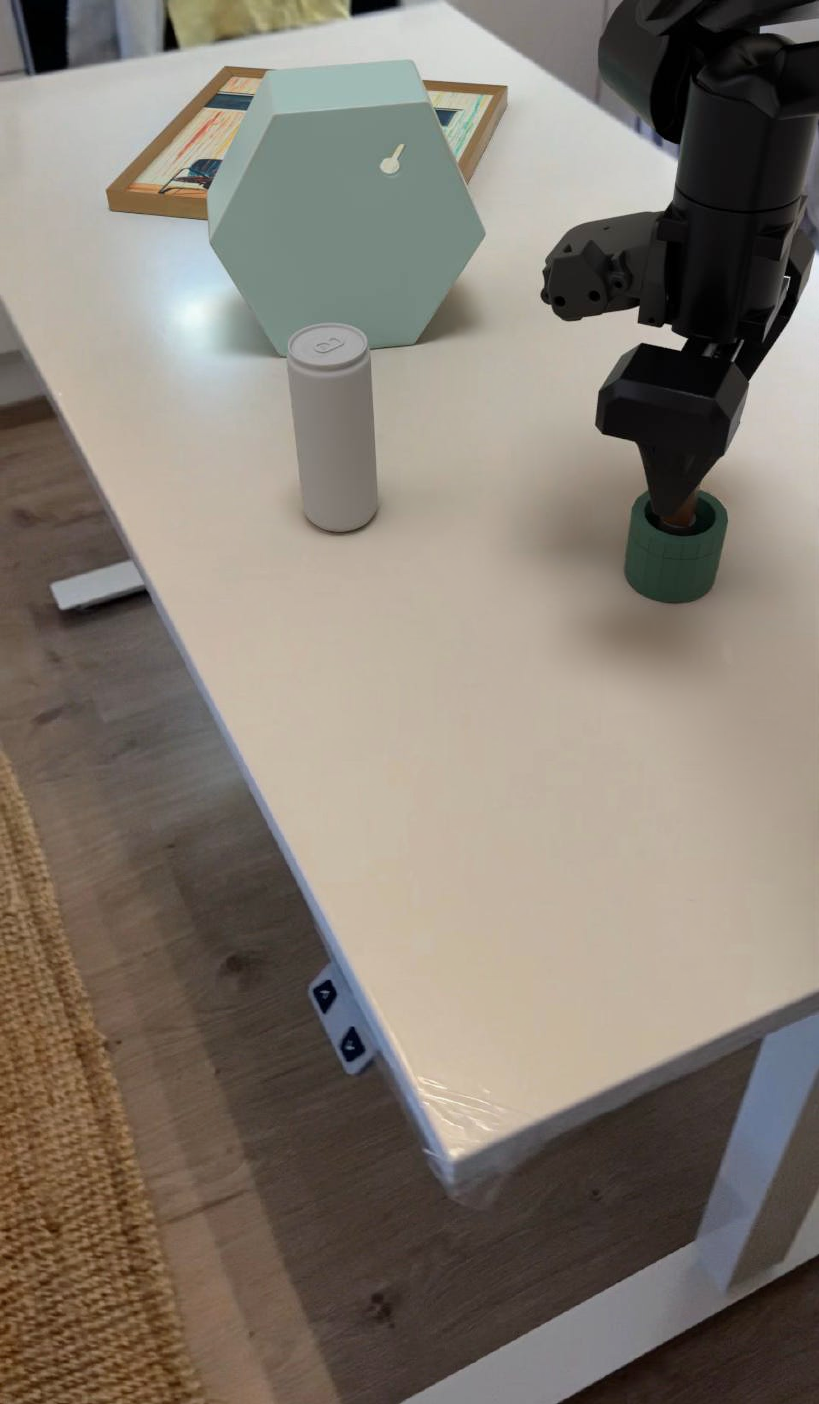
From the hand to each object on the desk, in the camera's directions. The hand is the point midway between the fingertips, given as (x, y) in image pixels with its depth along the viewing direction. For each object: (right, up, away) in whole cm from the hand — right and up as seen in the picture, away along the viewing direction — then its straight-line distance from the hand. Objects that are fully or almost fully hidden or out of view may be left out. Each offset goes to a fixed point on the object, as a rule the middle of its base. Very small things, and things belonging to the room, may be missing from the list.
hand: (688, 466), depth 66 cm
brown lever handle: (0, -5, +5) cm, 7 cm away
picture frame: (-24, +39, +48) cm, 66 cm away
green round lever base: (0, -5, +6) cm, 8 cm away
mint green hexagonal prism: (-20, +16, +26) cm, 37 cm away
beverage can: (-20, -1, +11) cm, 22 cm away
